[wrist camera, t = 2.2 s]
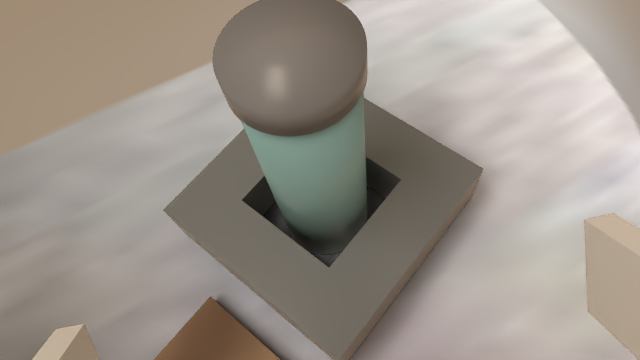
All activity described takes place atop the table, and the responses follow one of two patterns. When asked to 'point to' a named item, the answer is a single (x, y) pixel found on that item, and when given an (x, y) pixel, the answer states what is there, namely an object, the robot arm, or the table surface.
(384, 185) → the housing
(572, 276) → the table surface
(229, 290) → the table surface
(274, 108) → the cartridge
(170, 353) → the pad
